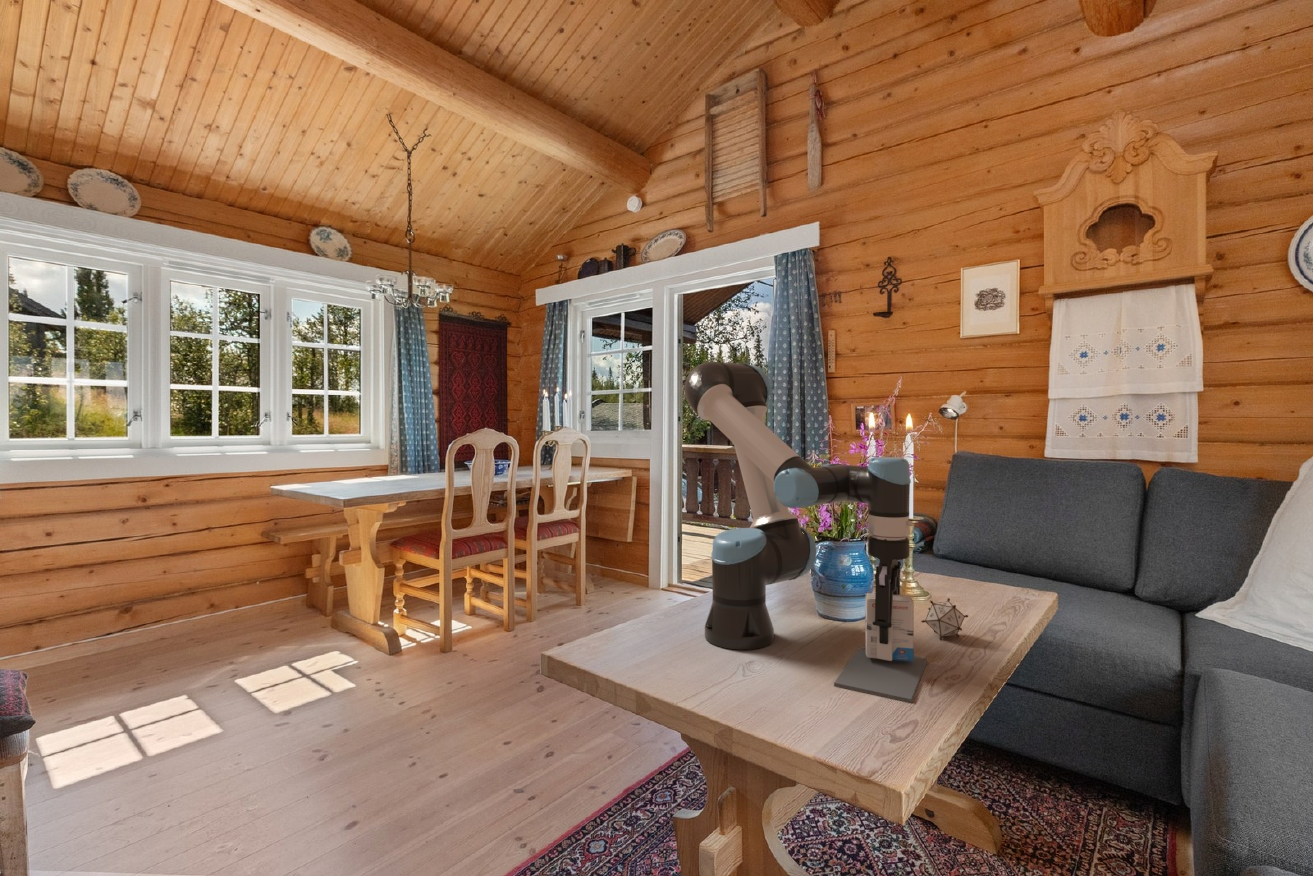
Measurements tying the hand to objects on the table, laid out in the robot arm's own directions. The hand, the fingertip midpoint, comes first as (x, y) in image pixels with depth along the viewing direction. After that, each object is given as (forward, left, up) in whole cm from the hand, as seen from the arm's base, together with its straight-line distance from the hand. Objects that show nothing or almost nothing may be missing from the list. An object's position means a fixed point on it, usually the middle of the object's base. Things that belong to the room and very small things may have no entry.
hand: (887, 653), depth 120 cm
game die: (+8, +21, -2) cm, 23 cm away
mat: (0, -6, -2) cm, 6 cm away
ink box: (0, 0, -1) cm, 1 cm away
